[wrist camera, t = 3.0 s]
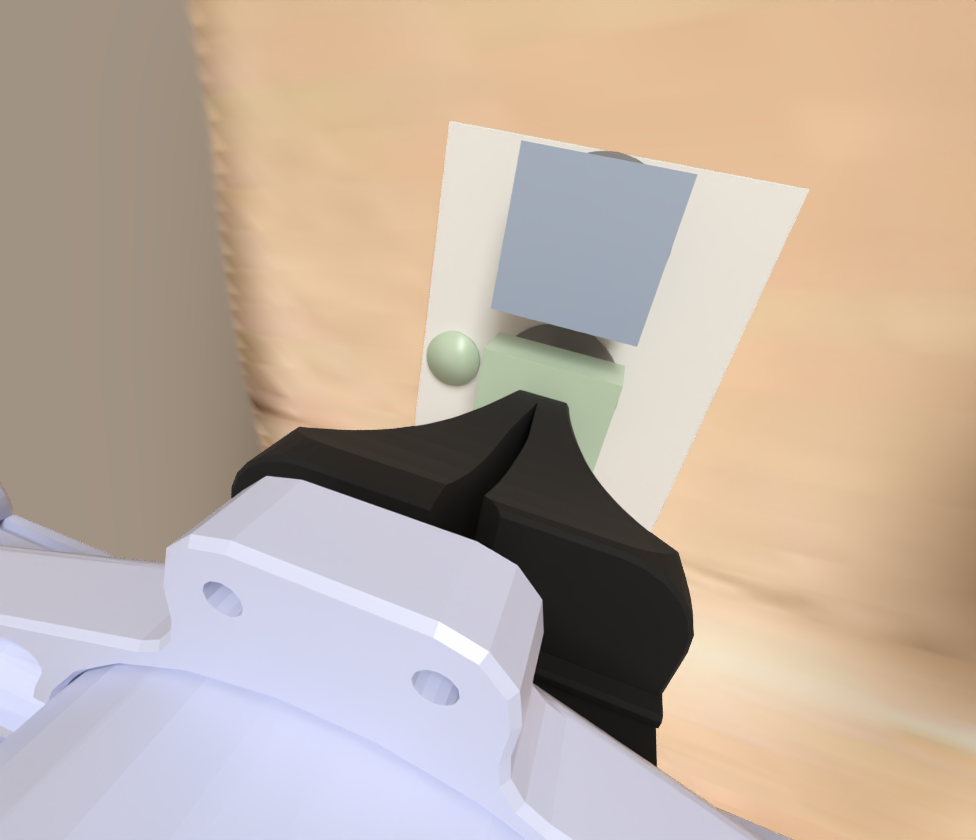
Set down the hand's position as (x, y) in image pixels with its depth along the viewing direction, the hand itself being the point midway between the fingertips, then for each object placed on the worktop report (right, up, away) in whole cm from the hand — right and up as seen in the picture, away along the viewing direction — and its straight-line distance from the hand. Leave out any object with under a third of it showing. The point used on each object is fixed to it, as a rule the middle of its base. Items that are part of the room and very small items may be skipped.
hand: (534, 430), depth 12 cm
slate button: (+1, +5, -1) cm, 5 cm away
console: (+1, +2, +5) cm, 5 cm away
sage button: (0, +1, +2) cm, 2 cm away
